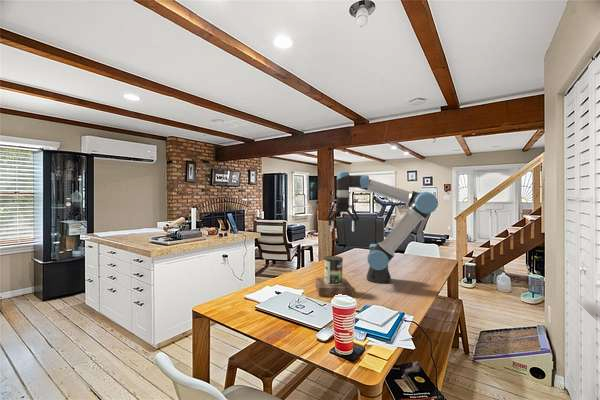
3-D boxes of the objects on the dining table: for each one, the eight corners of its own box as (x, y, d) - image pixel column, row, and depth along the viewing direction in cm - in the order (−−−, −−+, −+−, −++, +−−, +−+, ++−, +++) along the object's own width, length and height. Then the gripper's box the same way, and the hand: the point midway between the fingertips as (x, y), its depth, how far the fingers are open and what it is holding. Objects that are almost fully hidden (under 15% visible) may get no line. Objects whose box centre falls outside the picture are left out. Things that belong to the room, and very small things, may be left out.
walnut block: (345, 285, 168) (345, 278, 168) (352, 296, 150) (352, 287, 150) (315, 285, 167) (315, 278, 167) (318, 296, 149) (319, 287, 149)
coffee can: (345, 282, 160) (345, 257, 160) (337, 286, 151) (338, 260, 151) (329, 279, 166) (329, 255, 166) (320, 283, 157) (321, 258, 157)
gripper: (361, 197, 179) (360, 230, 179) (322, 196, 178) (321, 230, 178) (364, 197, 171) (363, 232, 171) (323, 196, 170) (323, 231, 170)
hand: (342, 231), depth 175 cm, fingers open, 13 cm apart
